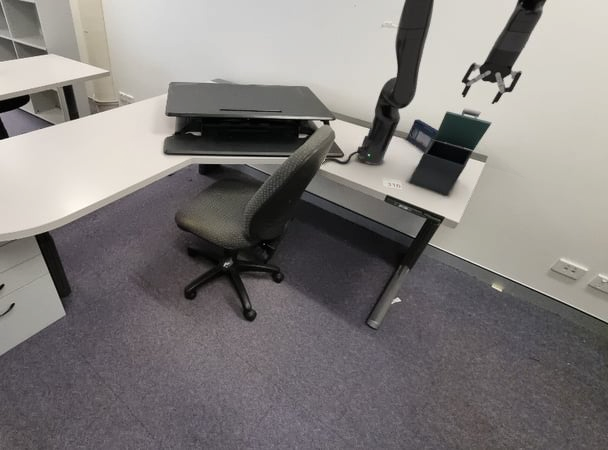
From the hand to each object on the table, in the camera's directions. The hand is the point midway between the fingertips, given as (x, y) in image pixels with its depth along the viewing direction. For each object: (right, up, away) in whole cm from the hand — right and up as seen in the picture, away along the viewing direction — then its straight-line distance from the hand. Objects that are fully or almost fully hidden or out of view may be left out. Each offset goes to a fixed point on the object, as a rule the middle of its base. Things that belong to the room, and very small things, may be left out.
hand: (478, 100), depth 111 cm
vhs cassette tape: (+7, -7, +41) cm, 42 cm away
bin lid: (0, -9, +8) cm, 12 cm away
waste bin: (-2, -25, +19) cm, 32 cm away
